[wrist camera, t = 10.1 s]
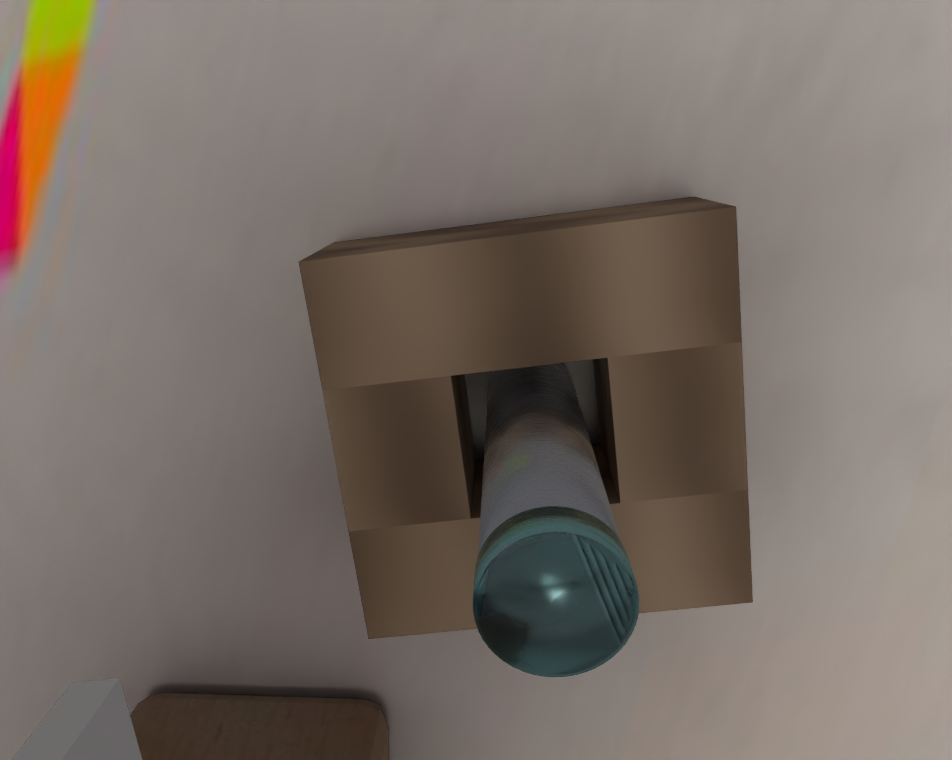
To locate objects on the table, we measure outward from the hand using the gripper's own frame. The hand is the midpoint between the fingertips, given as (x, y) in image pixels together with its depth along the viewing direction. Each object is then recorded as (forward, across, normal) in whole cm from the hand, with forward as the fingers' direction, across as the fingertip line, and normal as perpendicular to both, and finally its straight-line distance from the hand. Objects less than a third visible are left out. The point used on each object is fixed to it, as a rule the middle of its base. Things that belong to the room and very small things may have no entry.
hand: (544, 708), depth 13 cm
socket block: (+17, +1, 0) cm, 17 cm away
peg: (+17, +1, 0) cm, 17 cm away
